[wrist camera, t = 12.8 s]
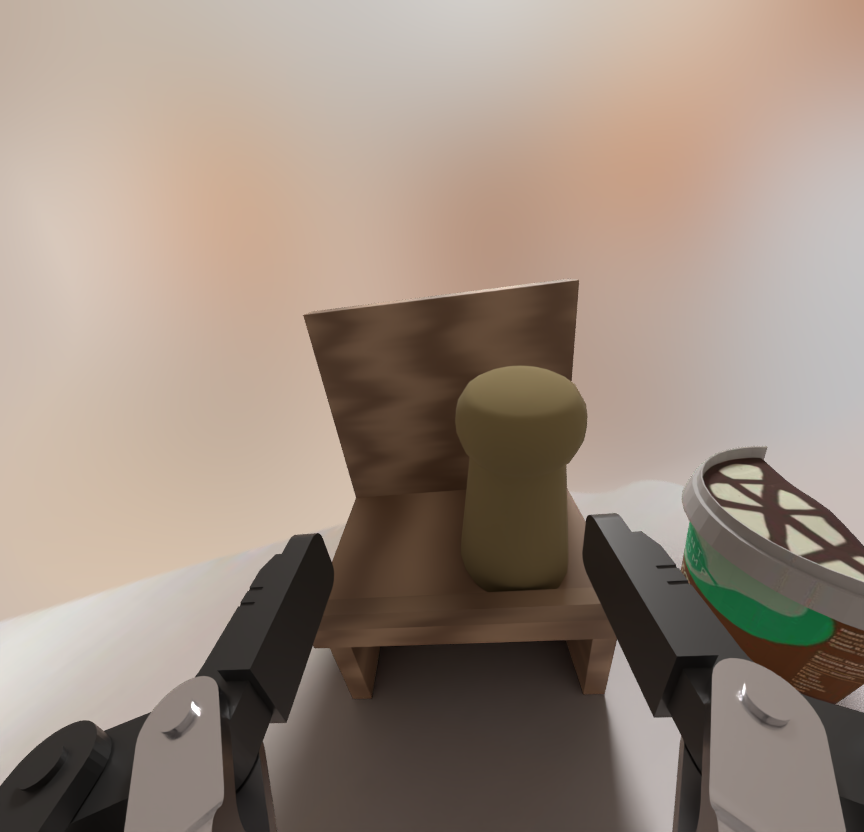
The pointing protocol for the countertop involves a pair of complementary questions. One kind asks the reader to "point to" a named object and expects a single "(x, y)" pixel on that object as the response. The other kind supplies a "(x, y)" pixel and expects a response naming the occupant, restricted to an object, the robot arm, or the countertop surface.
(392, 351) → the wooden chair
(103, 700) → the countertop surface
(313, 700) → the countertop surface
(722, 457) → the food container
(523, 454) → the cork
